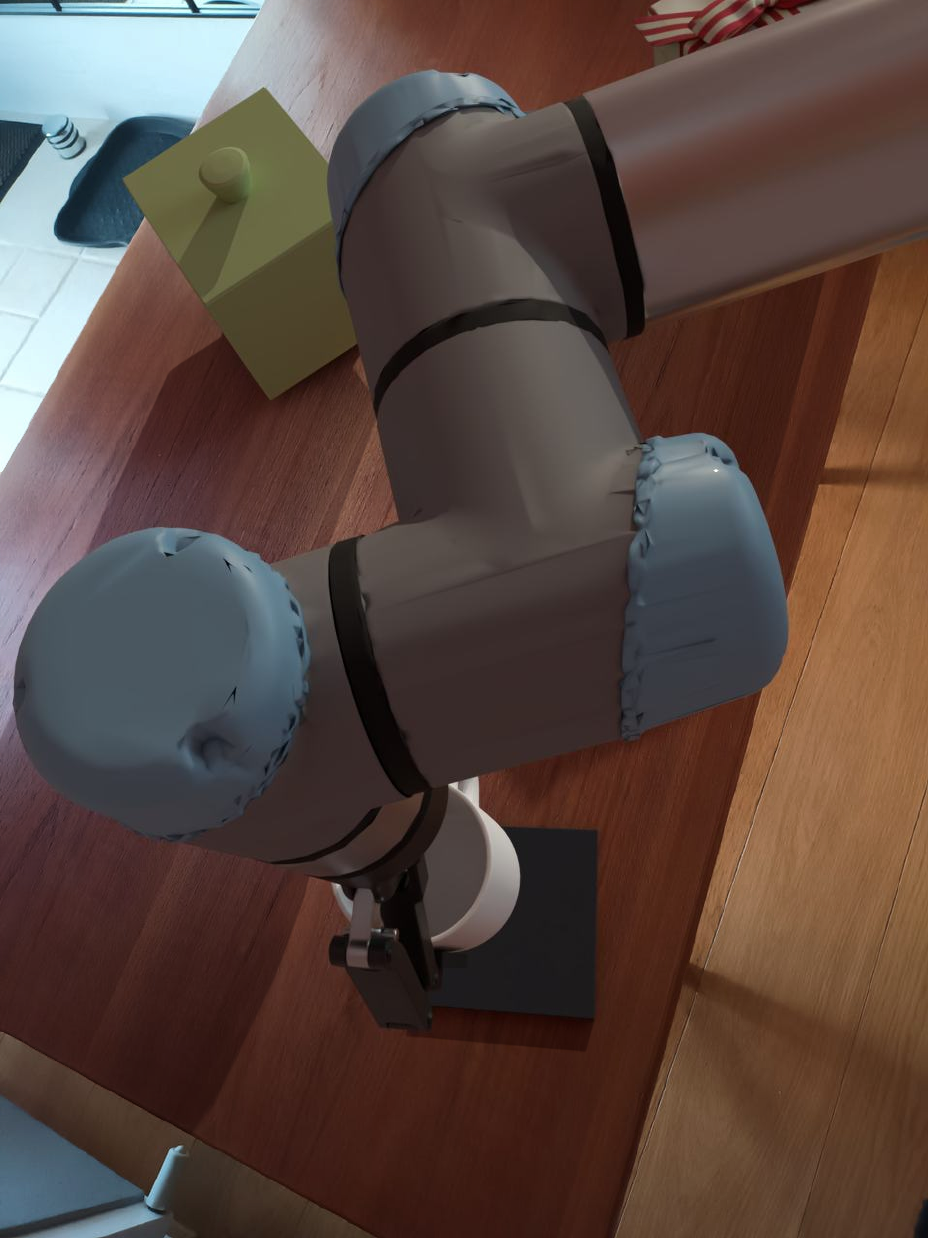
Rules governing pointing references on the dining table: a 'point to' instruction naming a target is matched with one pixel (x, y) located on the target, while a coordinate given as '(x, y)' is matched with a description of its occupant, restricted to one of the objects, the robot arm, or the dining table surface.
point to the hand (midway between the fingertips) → (452, 846)
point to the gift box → (709, 22)
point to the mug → (465, 875)
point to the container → (253, 237)
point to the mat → (538, 934)
